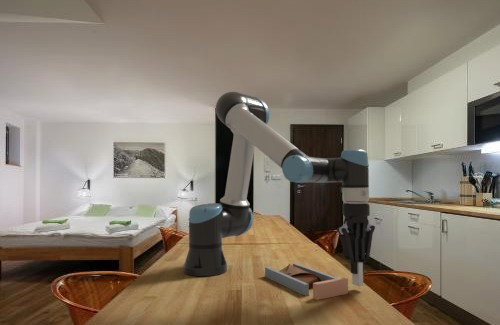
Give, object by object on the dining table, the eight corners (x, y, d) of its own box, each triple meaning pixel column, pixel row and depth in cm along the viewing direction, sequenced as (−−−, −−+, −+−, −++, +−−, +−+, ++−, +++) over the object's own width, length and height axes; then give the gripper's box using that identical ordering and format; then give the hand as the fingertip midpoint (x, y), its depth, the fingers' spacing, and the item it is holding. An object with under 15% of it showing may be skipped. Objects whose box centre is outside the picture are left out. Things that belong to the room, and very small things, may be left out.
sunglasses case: (268, 275, 112) (277, 257, 114) (284, 284, 115) (292, 266, 116) (298, 291, 96) (308, 269, 98) (316, 300, 98) (325, 279, 100)
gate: (316, 300, 89) (316, 284, 89) (313, 298, 90) (312, 282, 91) (348, 293, 94) (347, 278, 94) (344, 291, 95) (343, 277, 96)
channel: (305, 295, 92) (305, 284, 92) (264, 276, 112) (264, 267, 112) (339, 289, 98) (339, 278, 98) (295, 271, 117) (295, 263, 118)
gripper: (348, 203, 92) (350, 291, 91) (381, 202, 98) (384, 284, 97) (329, 202, 99) (331, 284, 97) (362, 201, 105) (364, 278, 103)
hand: (357, 284), depth 97 cm, fingers closed
